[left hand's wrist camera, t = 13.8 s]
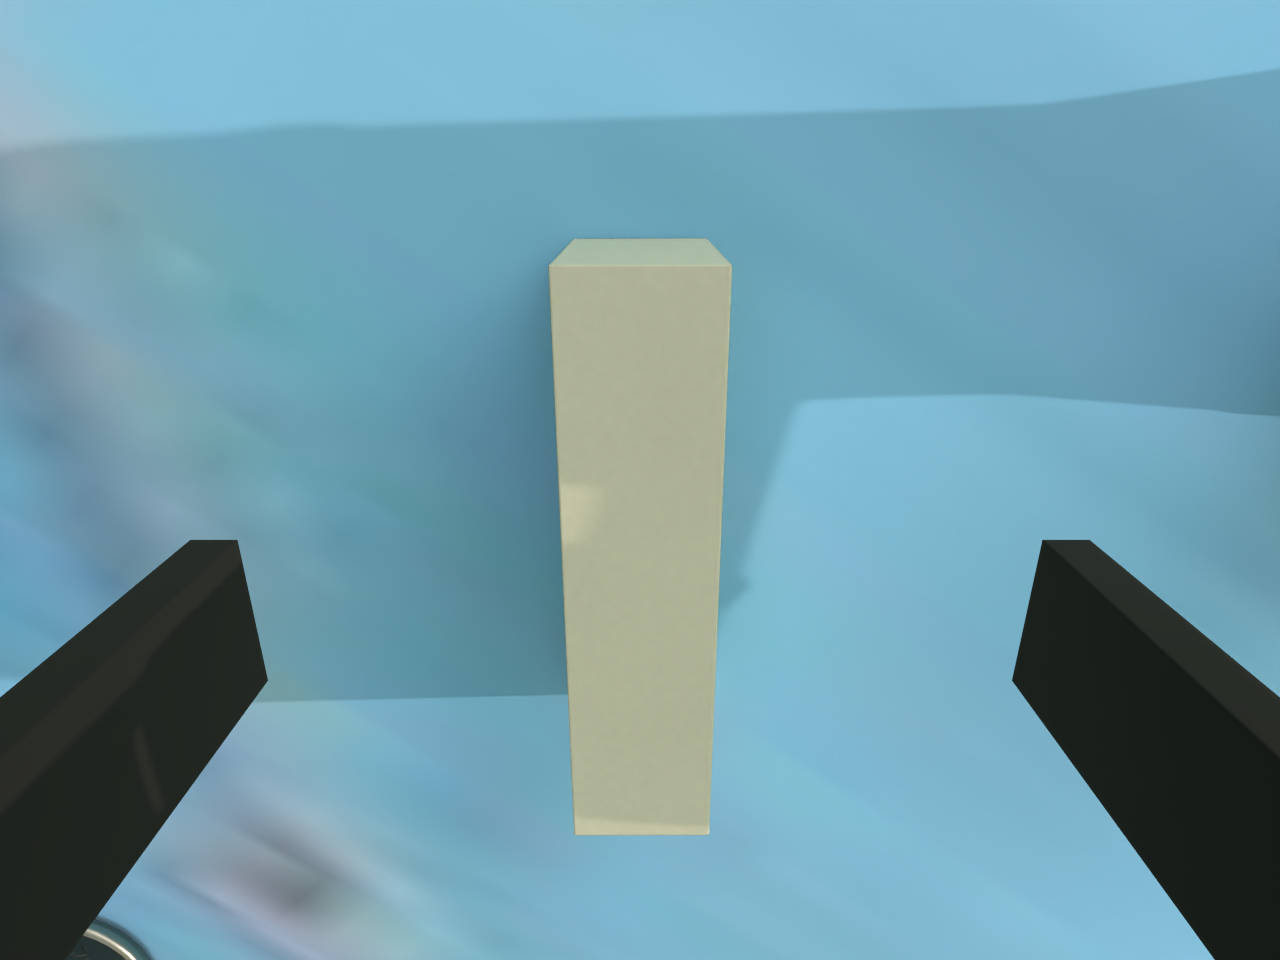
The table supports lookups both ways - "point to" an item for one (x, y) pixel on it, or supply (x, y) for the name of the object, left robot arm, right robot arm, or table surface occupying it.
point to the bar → (640, 523)
